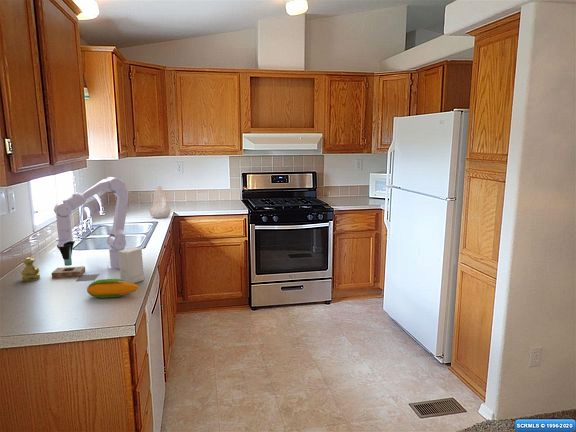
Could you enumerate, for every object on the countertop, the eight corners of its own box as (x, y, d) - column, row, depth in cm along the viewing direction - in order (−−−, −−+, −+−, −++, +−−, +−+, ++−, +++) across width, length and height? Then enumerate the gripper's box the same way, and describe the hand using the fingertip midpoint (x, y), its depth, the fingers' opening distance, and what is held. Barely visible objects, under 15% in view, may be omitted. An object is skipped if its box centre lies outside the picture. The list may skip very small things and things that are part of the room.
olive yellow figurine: (21, 283, 188) (18, 261, 186) (21, 278, 194) (18, 257, 192) (40, 280, 192) (38, 258, 190) (40, 275, 198) (37, 254, 196)
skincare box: (136, 277, 195) (134, 246, 192) (144, 280, 191) (142, 248, 189) (120, 283, 188) (117, 250, 185) (128, 285, 185) (125, 252, 182)
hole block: (85, 272, 203) (84, 266, 202) (80, 277, 195) (80, 271, 194) (58, 273, 201) (57, 267, 200) (52, 279, 193) (51, 273, 192)
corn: (89, 276, 173) (140, 274, 176) (91, 293, 175) (141, 291, 178) (83, 283, 166) (136, 281, 169) (85, 301, 168) (138, 298, 171)
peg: (73, 263, 198) (71, 245, 197) (70, 265, 195) (68, 246, 194) (66, 263, 198) (64, 245, 197) (63, 265, 195) (61, 246, 194)
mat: (99, 274, 199) (99, 273, 199) (94, 281, 191) (94, 280, 190) (81, 275, 198) (81, 275, 198) (75, 282, 189) (75, 281, 189)
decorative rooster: (150, 216, 346) (148, 185, 342) (170, 215, 351) (168, 184, 346) (149, 221, 323) (147, 189, 318) (171, 220, 327) (169, 188, 323)
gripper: (60, 226, 200) (63, 254, 203) (49, 233, 186) (52, 263, 188) (76, 225, 201) (79, 253, 204) (66, 232, 187) (69, 262, 190)
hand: (67, 258), depth 196 cm, fingers closed on peg, 3 cm apart
